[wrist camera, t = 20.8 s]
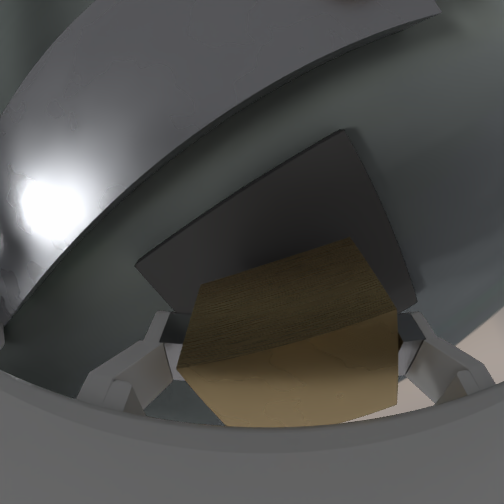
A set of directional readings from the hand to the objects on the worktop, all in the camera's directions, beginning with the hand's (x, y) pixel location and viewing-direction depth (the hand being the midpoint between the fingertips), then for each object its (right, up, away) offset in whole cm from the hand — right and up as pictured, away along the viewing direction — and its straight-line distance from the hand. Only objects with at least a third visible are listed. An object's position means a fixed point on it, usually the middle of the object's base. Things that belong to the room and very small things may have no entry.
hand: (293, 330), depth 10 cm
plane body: (-7, +8, 0) cm, 11 cm away
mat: (0, +1, +3) cm, 3 cm away
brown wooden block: (0, 0, +1) cm, 1 cm away
